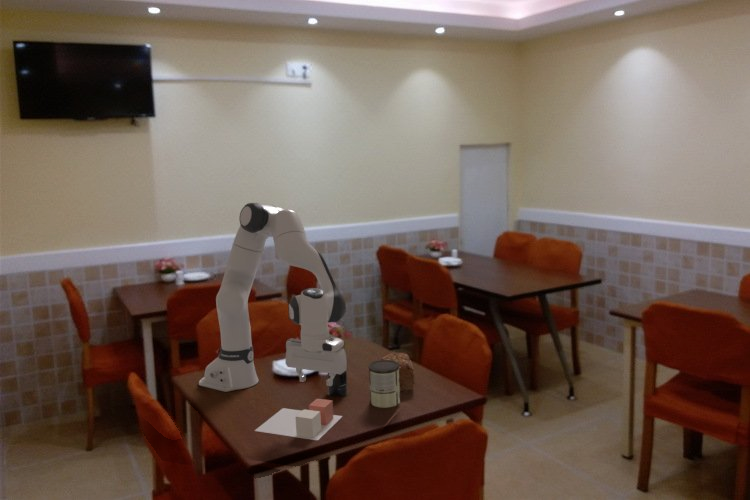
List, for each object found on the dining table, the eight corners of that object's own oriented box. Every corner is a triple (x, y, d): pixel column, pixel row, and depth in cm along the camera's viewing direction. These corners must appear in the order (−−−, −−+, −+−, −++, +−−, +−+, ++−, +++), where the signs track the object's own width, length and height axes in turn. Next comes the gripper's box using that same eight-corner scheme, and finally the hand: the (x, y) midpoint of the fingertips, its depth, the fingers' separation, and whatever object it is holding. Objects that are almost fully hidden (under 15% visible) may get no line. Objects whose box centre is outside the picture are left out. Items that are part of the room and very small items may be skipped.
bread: (415, 391, 232) (414, 364, 231) (385, 393, 232) (384, 366, 230) (408, 373, 251) (408, 348, 249) (381, 374, 250) (380, 349, 248)
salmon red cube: (309, 423, 207) (308, 405, 206) (317, 416, 212) (316, 398, 211) (325, 425, 205) (324, 407, 204) (333, 418, 210) (332, 400, 209)
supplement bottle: (345, 399, 227) (343, 366, 225) (326, 398, 229) (324, 365, 227) (349, 391, 234) (348, 359, 232) (331, 390, 235) (329, 359, 233)
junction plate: (254, 433, 203) (254, 430, 203) (283, 410, 219) (283, 408, 219) (317, 443, 195) (317, 440, 195) (342, 419, 211) (342, 416, 211)
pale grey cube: (296, 435, 199) (295, 416, 198) (305, 427, 204) (304, 409, 203) (313, 437, 196) (312, 418, 195) (321, 429, 202) (320, 411, 201)
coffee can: (365, 401, 225) (364, 362, 222) (393, 396, 228) (392, 357, 226) (376, 412, 215) (375, 372, 213) (405, 407, 219) (404, 367, 216)
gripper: (280, 340, 204) (282, 382, 207) (339, 347, 196) (340, 391, 199) (291, 334, 210) (292, 375, 212) (348, 341, 202) (349, 384, 204)
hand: (316, 383), depth 205 cm, fingers open, 8 cm apart
